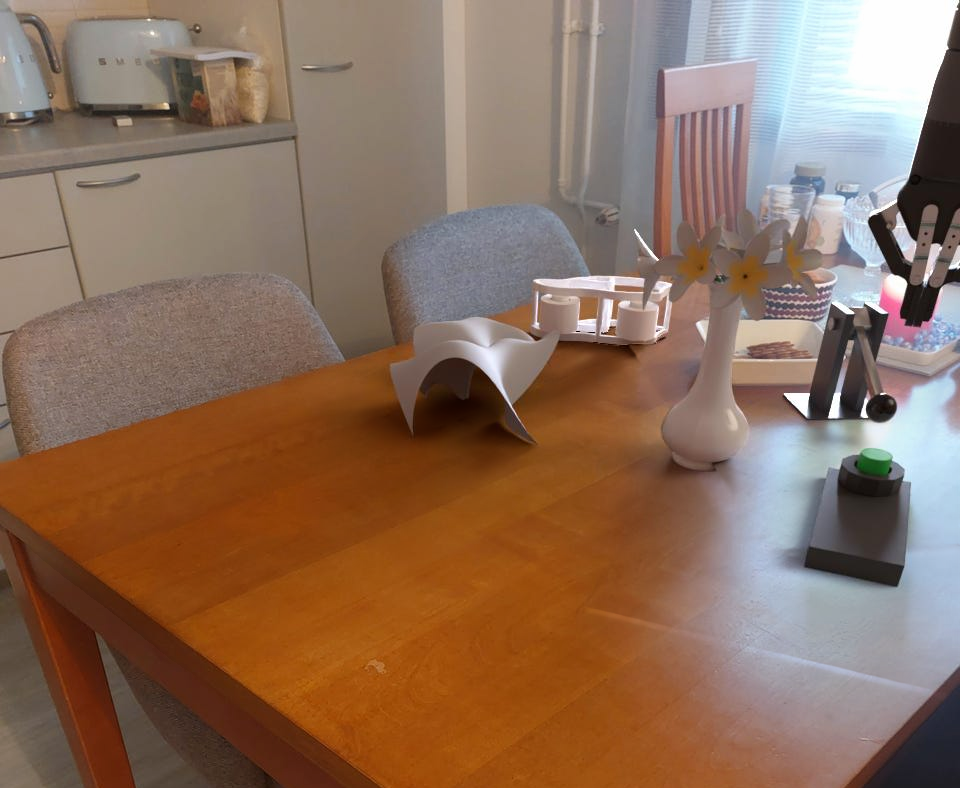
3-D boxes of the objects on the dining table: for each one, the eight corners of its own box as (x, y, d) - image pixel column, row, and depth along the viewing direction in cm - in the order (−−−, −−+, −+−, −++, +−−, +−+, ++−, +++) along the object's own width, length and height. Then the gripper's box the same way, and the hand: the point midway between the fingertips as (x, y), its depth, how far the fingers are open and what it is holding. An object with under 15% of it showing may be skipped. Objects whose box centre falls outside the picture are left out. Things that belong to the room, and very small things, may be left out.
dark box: (824, 483, 97) (833, 448, 95) (905, 498, 95) (916, 462, 92) (803, 567, 83) (813, 528, 81) (897, 587, 81) (910, 547, 78)
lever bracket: (885, 426, 110) (918, 318, 103) (805, 428, 109) (832, 318, 102) (857, 401, 117) (885, 297, 109) (781, 402, 116) (804, 298, 108)
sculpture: (419, 361, 125) (418, 286, 119) (559, 370, 124) (564, 295, 118) (381, 434, 105) (378, 349, 99) (548, 446, 103) (554, 359, 98)
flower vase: (602, 436, 106) (627, 199, 91) (760, 437, 107) (810, 202, 92) (620, 488, 95) (652, 228, 81) (796, 488, 96) (859, 231, 81)
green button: (857, 461, 93) (861, 445, 92) (888, 467, 92) (893, 451, 91) (855, 473, 91) (859, 456, 90) (887, 479, 90) (892, 462, 89)
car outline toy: (524, 342, 133) (526, 289, 128) (536, 320, 141) (539, 270, 137) (664, 355, 129) (672, 301, 125) (668, 331, 138) (675, 280, 134)
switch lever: (891, 428, 103) (905, 410, 100) (864, 429, 102) (877, 411, 99) (859, 324, 109) (872, 304, 106) (833, 324, 108) (845, 304, 105)
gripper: (887, 115, 76) (836, 326, 86) (1065, 126, 72) (990, 346, 82) (891, 105, 82) (843, 305, 92) (1057, 115, 78) (987, 322, 88)
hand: (912, 324), depth 87 cm, fingers closed
